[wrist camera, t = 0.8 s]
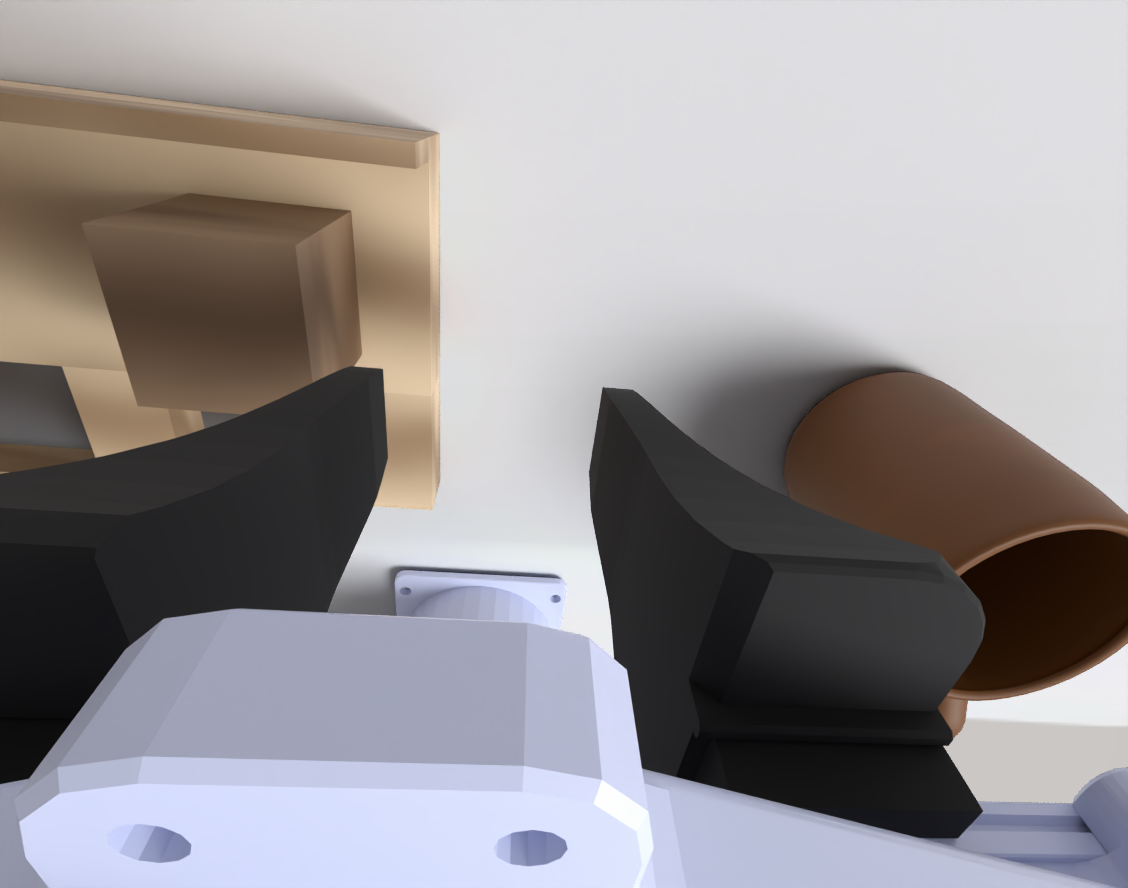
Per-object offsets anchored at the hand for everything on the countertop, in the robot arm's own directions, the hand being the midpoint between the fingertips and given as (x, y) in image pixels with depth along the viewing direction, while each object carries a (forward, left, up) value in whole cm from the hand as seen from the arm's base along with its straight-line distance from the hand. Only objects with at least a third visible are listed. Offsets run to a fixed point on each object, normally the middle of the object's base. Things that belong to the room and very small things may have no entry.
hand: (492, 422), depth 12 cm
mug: (-8, -15, -10) cm, 20 cm away
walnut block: (0, +7, -8) cm, 11 cm away
